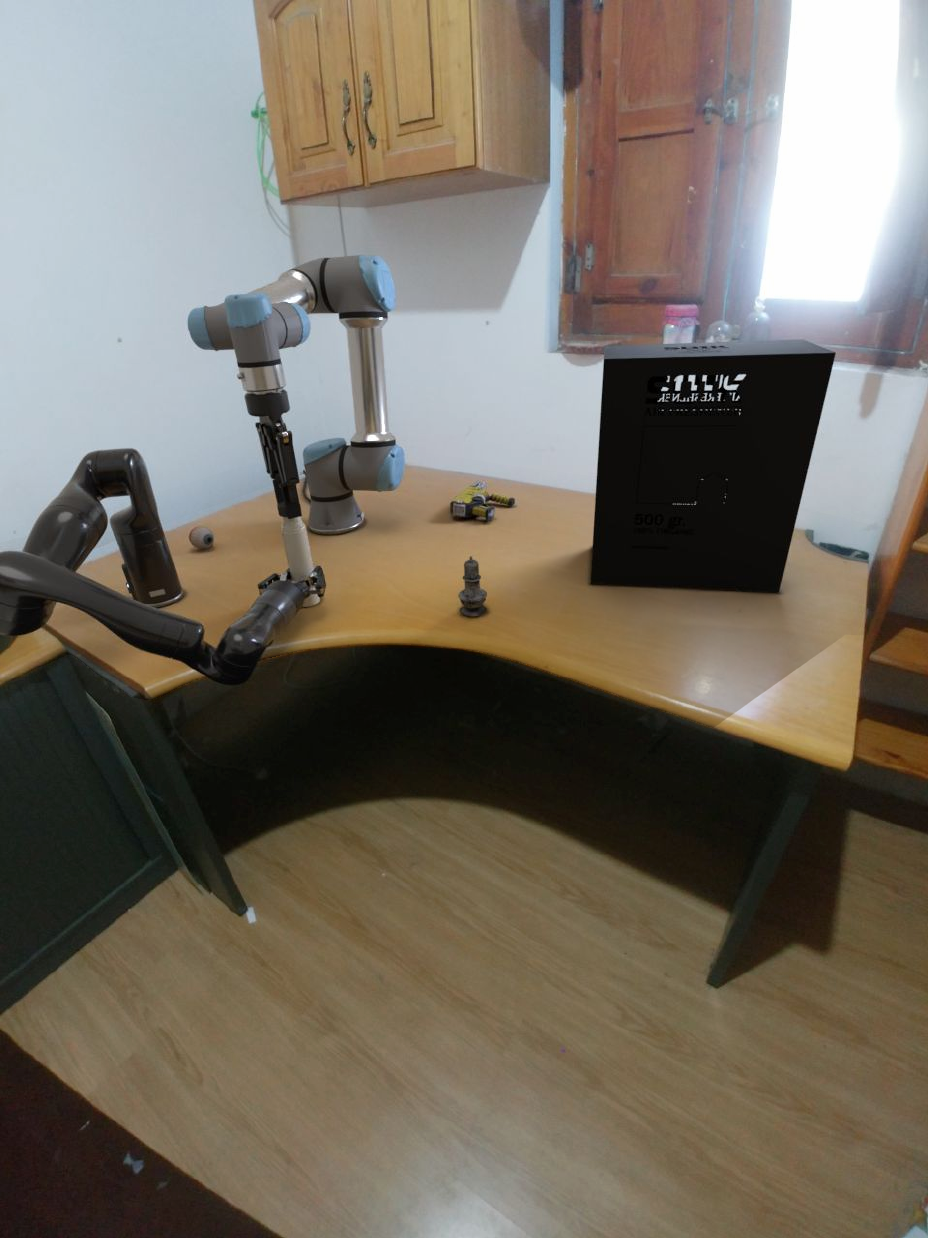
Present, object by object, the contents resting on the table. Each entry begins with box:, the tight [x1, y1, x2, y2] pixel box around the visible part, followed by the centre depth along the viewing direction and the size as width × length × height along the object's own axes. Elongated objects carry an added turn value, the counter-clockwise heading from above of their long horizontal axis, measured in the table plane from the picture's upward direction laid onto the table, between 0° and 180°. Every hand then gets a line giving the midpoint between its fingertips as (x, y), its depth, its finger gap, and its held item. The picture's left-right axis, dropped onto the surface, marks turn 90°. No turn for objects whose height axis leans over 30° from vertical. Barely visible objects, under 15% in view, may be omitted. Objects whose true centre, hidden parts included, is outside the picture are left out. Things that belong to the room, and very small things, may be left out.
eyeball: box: [188, 525, 215, 550], centre depth 158 cm, size 6×6×6 cm
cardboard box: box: [590, 338, 837, 594], centre depth 124 cm, size 38×20×45 cm, turn 78°
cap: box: [276, 501, 302, 518], centre depth 120 cm, size 4×4×2 cm
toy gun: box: [449, 480, 516, 522], centre depth 174 cm, size 5×24×15 cm
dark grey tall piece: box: [457, 555, 488, 617], centre depth 120 cm, size 6×6×12 cm
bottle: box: [280, 516, 321, 608], centre depth 125 cm, size 5×5×22 cm
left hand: (307, 569), depth 129 cm, fingers closed on bottle, 5 cm apart
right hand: (290, 513), depth 120 cm, fingers closed on cap, 4 cm apart
